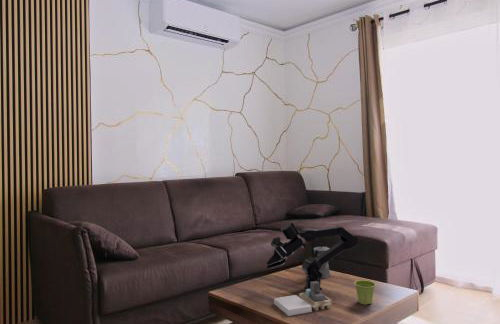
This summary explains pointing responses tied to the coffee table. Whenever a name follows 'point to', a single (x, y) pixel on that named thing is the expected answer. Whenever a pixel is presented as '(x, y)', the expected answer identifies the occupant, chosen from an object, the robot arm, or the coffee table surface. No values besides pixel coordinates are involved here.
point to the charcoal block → (319, 297)
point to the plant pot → (365, 291)
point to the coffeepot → (325, 267)
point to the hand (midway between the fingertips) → (266, 266)
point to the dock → (292, 305)
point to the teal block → (308, 293)
